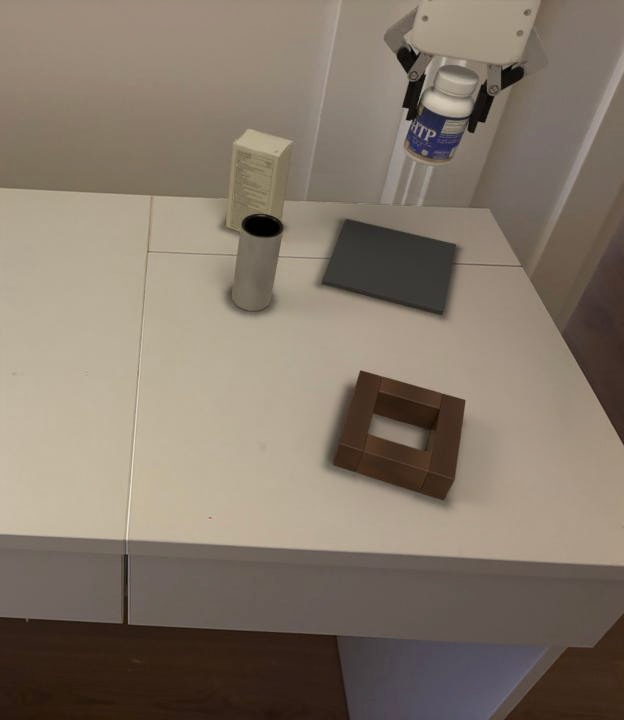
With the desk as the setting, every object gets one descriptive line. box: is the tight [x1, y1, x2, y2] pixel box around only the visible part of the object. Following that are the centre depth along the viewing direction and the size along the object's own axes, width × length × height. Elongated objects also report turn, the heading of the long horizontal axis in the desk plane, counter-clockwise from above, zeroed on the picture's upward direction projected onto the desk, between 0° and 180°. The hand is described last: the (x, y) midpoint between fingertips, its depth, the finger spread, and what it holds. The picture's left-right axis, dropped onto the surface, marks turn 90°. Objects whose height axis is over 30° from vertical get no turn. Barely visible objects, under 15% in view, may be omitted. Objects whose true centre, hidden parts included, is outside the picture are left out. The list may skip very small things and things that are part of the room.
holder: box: [332, 370, 467, 501], centre depth 71 cm, size 10×10×3 cm
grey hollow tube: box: [231, 214, 285, 312], centre depth 83 cm, size 4×4×10 cm
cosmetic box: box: [225, 128, 294, 233], centre depth 93 cm, size 6×4×12 cm
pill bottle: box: [402, 64, 480, 167], centre depth 76 cm, size 5×5×9 cm
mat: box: [321, 218, 457, 316], centre depth 92 cm, size 14×14×1 cm
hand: (441, 119), depth 76 cm, fingers closed on pill bottle, 5 cm apart
